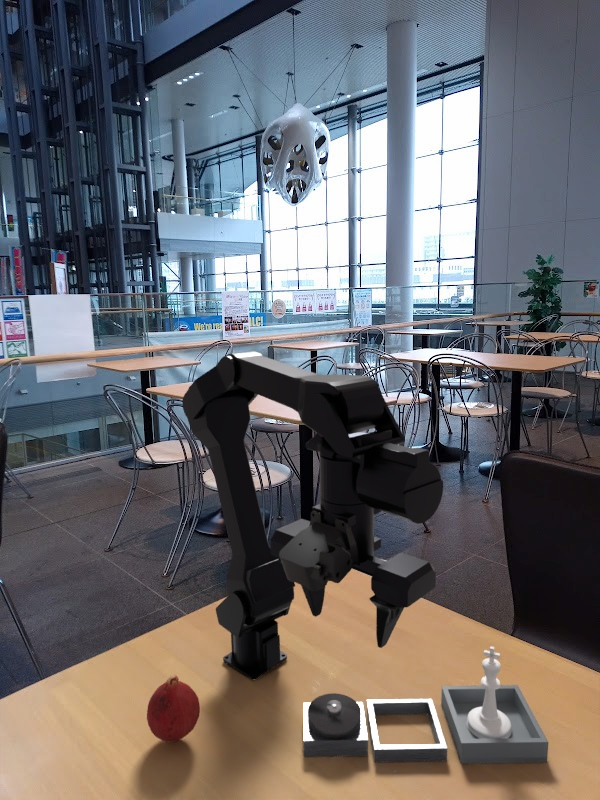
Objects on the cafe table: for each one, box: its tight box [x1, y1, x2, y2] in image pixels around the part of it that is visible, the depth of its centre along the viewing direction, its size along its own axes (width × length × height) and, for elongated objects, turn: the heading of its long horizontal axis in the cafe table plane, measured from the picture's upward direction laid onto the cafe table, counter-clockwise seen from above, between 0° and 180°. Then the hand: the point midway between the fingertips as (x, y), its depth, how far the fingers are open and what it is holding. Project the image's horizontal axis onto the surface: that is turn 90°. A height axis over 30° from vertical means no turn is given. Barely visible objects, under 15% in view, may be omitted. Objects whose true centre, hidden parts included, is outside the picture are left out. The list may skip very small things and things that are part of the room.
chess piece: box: [467, 645, 512, 739], centre depth 67 cm, size 5×5×10 cm
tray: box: [440, 684, 549, 765], centre depth 68 cm, size 9×9×2 cm
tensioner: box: [303, 693, 448, 763], centre depth 68 cm, size 15×8×4 cm, turn 90°
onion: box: [146, 674, 201, 743], centre depth 67 cm, size 6×6×8 cm
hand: (347, 629), depth 66 cm, fingers open, 9 cm apart
